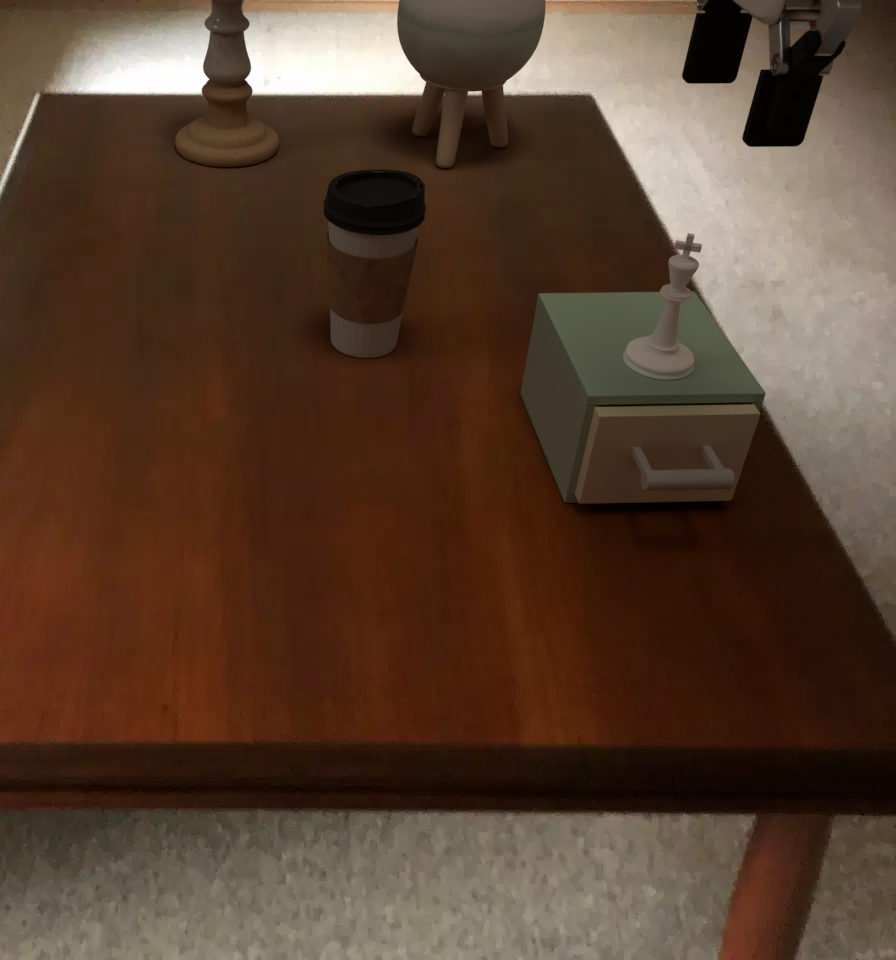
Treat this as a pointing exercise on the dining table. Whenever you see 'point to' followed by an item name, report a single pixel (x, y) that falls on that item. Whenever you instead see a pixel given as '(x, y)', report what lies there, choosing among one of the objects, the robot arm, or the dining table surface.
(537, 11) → the planter
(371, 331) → the coffee cup
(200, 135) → the candle holder
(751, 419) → the drawer
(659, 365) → the chess piece
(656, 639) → the dining table surface
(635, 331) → the cabinet
